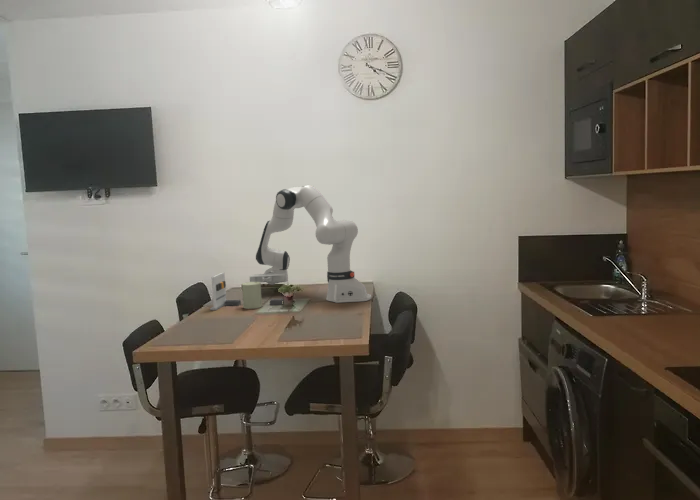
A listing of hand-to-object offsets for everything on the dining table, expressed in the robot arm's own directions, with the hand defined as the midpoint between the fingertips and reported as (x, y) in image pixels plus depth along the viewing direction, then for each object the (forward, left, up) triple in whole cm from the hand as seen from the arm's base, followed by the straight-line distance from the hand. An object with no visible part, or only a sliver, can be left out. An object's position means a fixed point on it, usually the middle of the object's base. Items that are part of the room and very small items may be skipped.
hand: (264, 280), depth 303 cm
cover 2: (-11, +17, -9) cm, 22 cm away
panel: (+17, +21, -9) cm, 28 cm away
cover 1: (+12, +17, -9) cm, 23 cm away
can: (0, +21, -10) cm, 23 cm away
